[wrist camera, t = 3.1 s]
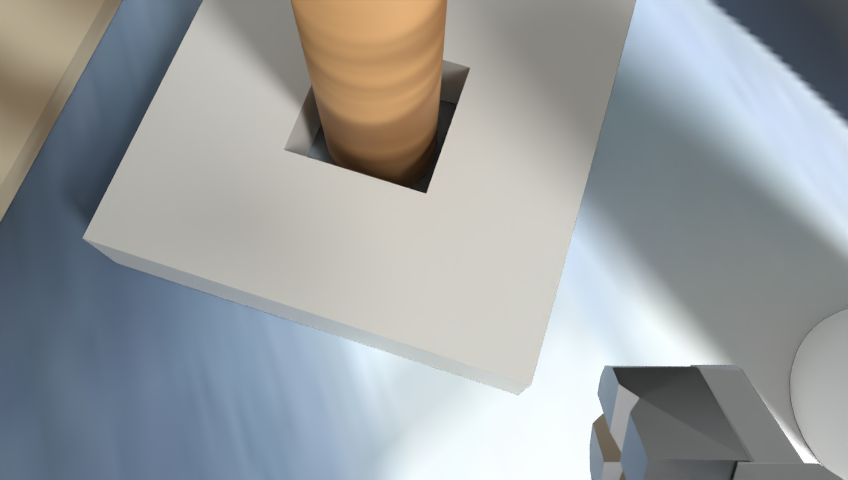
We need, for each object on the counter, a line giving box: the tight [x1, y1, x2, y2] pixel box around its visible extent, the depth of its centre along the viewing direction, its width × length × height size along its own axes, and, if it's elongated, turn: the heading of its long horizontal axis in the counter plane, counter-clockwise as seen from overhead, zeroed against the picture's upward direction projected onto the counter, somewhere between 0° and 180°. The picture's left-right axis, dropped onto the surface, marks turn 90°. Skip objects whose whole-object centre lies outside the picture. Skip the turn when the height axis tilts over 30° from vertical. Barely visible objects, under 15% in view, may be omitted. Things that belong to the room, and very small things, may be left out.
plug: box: [290, 0, 447, 188], centre depth 23 cm, size 4×4×12 cm
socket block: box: [83, 0, 636, 395], centre depth 28 cm, size 16×16×3 cm
